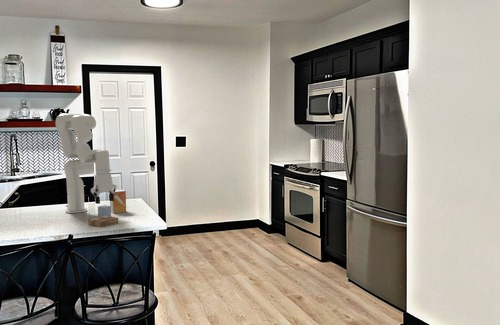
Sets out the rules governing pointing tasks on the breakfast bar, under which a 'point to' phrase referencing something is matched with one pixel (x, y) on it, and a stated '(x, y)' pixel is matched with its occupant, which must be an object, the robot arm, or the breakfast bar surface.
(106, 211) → the blue block
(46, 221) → the breakfast bar surface
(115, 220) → the walnut slab
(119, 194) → the small box
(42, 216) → the breakfast bar surface
